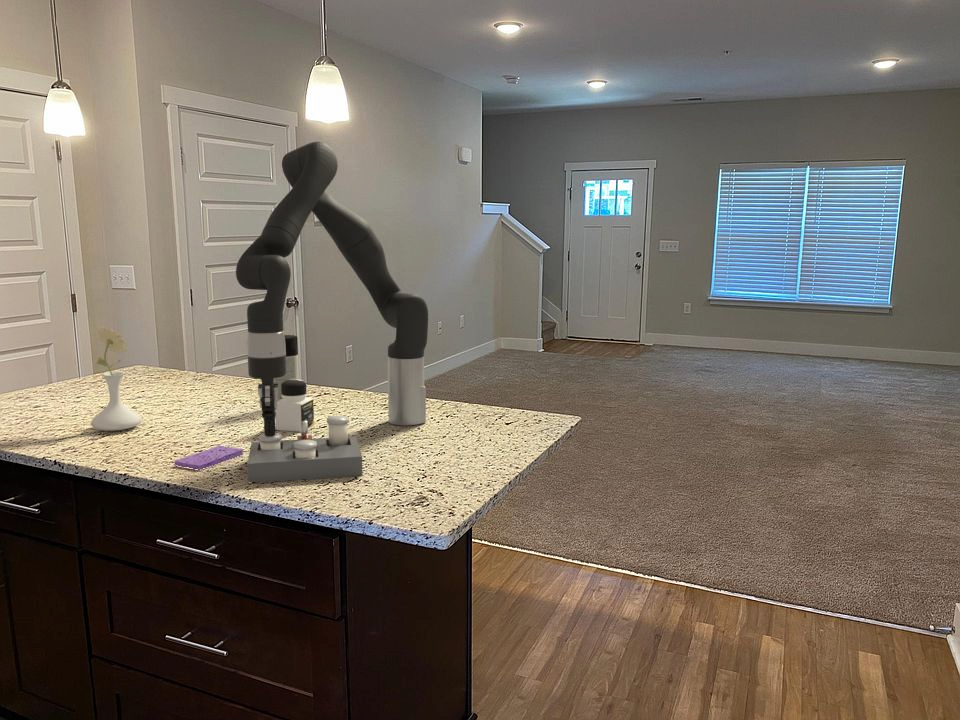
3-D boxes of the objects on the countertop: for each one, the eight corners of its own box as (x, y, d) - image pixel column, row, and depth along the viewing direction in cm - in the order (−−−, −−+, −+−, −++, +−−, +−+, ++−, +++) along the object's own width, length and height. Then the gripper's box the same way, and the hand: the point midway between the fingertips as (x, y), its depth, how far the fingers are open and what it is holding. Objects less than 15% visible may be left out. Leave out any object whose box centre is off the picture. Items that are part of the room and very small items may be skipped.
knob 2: (348, 440, 158) (348, 415, 157) (350, 446, 154) (349, 420, 153) (327, 442, 157) (326, 416, 156) (328, 448, 152) (327, 421, 151)
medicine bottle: (302, 432, 177) (300, 384, 175) (275, 430, 178) (273, 382, 176) (314, 424, 184) (313, 378, 182) (288, 423, 185) (286, 377, 183)
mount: (356, 453, 161) (355, 436, 160) (362, 475, 146) (362, 456, 146) (252, 460, 155) (251, 442, 154) (248, 483, 141) (247, 463, 140)
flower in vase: (150, 428, 179) (143, 328, 175) (101, 437, 171) (93, 332, 166) (129, 418, 188) (121, 323, 183) (81, 426, 180) (72, 326, 175)
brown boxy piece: (311, 441, 155) (311, 419, 154) (312, 445, 152) (311, 422, 151) (297, 442, 154) (296, 420, 154) (297, 446, 152) (296, 423, 151)
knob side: (317, 466, 150) (316, 439, 149) (317, 473, 146) (317, 445, 145) (294, 467, 149) (293, 440, 148) (294, 475, 145) (293, 447, 144)
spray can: (304, 405, 204) (302, 335, 200) (290, 411, 198) (288, 338, 194) (284, 403, 206) (281, 334, 202) (270, 409, 200) (267, 337, 196)
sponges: (243, 457, 159) (243, 448, 159) (199, 473, 148) (198, 464, 147) (219, 452, 162) (219, 444, 162) (174, 468, 151) (173, 460, 150)
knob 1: (282, 458, 155) (281, 432, 154) (282, 465, 151) (281, 438, 150) (260, 459, 154) (259, 433, 153) (259, 466, 150) (258, 439, 149)
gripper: (285, 358, 143) (288, 442, 146) (286, 347, 155) (288, 425, 158) (245, 359, 141) (249, 445, 144) (249, 348, 154) (252, 427, 157)
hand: (270, 434), depth 151 cm, fingers closed
